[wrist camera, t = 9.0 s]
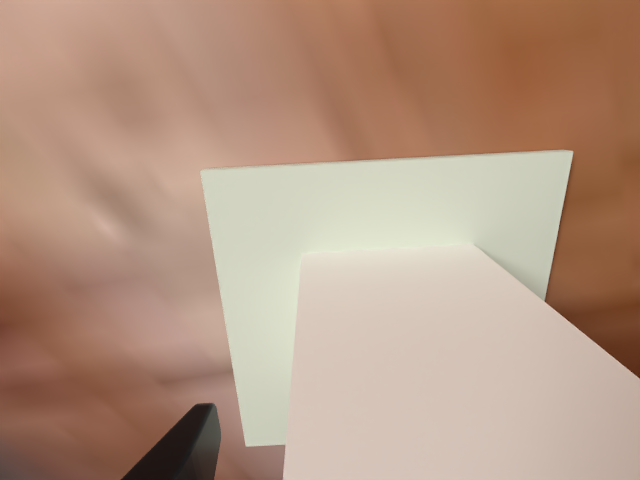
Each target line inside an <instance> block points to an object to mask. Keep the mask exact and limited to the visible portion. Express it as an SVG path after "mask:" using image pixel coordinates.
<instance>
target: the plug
mask: <svg viewBox="0 0 640 480" xmlns="http://www.w3.org/2000/svg"><path fill="white" fill-rule="evenodd" d="M283 480H640V379H639V378H638V377H637V376H636V375H634V374H633V373H632V372H631V371H629V370H628V369H627V368H626V367H625V366H623V365H622V364H621V363H620V362H618V361H617V360H616V359H615V358H613V357H612V356H611V355H610V354H608V353H607V352H606V351H605V350H604V349H602V348H601V347H600V346H599V345H597V344H596V343H595V342H594V341H592V340H591V339H590V338H589V337H587V336H586V335H585V334H584V333H582V332H581V331H580V330H579V329H578V328H576V327H575V326H574V325H573V324H571V323H570V322H569V321H568V320H566V319H565V318H564V317H563V316H561V315H560V314H559V313H558V312H557V311H555V310H554V309H553V308H552V307H550V306H549V305H548V304H547V303H545V302H544V301H543V300H542V299H540V298H539V297H538V296H537V295H535V294H534V293H533V292H532V291H531V290H529V289H528V288H527V287H526V286H524V285H523V284H522V283H521V282H519V281H518V280H517V279H516V278H514V277H513V276H512V275H511V274H509V273H508V272H507V271H506V270H505V269H503V268H502V267H501V266H500V265H498V264H497V263H496V262H495V261H493V260H492V259H491V258H490V257H488V256H487V255H486V254H485V253H484V252H482V251H481V250H480V249H479V248H477V247H476V246H475V245H474V244H458V245H440V246H422V247H405V248H387V249H369V250H351V251H333V252H316V253H302V255H301V268H300V280H299V292H298V304H297V316H296V328H295V340H294V352H293V364H292V376H291V388H290V400H289V412H288V424H287V436H286V448H285V460H284V472H283Z"/></svg>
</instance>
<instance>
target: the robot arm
mask: <svg viewBox="0 0 640 480" xmlns="http://www.w3.org/2000/svg"><path fill="white" fill-rule="evenodd" d="M220 441H221V429H220V424H219V419H218V413H217V408H216V406H215V404H214V403H200V404H196V405H194V406H193V407H192V408H191V409H190V410H189V411H188V412H187V413H186V414H185V415H184V416H183V417H182V418H181V419H180V420H179V421H178V422H177V423H176V424H175V425H174V426H173V427H172V428H171V429H170V430H169V431H168V432H167V433H166V435H165V436H164V437H163V438H162V439H161V440H160V441H159V442H158V443H157V444H156V445H155V446H154V447H153V448H152V449H151V450H150V451H149V452H148V453H147V454H146V455H145V456H144V457H143V458H142V459H141V460H140V461H139V462H138V463H137V464H136V465H135V466H134V467H133V468H132V469H131V470H130V471H129V472H128V473H127V474H126V475H125V476H124V477H123V478H122V479H121V480H214V476H215V470H216V464H217V459H218V453H219V447H220Z"/></svg>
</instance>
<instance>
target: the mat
mask: <svg viewBox="0 0 640 480" xmlns="http://www.w3.org/2000/svg"><path fill="white" fill-rule="evenodd" d="M572 156H573V151H569V150H549V151H530V152H511V153H493V154H474V155H455V156H436V157H417V158H398V159H379V160H360V161H341V162H322V163H304V164H285V165H266V166H247V167H228V168H209V169H203V170H201V171H200V173H201V179H202V185H203V191H204V197H205V203H206V209H207V215H208V221H209V227H210V233H211V239H212V245H213V251H214V257H215V263H216V269H217V275H218V281H219V287H220V293H221V299H222V305H223V311H224V317H225V323H226V329H227V336H228V342H229V348H230V354H231V360H232V366H233V372H234V378H235V384H236V390H237V396H238V402H239V408H240V414H241V420H242V426H243V432H244V438H245V444H246V447H247V446H266V445H284V444H286V436H287V424H288V412H289V400H290V388H291V376H292V364H293V352H294V340H295V328H296V316H297V304H298V292H299V280H300V268H301V255H302V253H316V252H333V251H351V250H369V249H387V248H405V247H422V246H440V245H458V244H474V245H475V246H476V247H477V248H479V249H480V250H481V251H482V252H484V253H485V254H486V255H487V256H488V257H490V258H491V259H492V260H493V261H495V262H496V263H497V264H498V265H500V266H501V267H502V268H503V269H505V270H506V271H507V272H508V273H509V274H511V275H512V276H513V277H514V278H516V279H517V280H518V281H519V282H521V283H522V284H523V285H524V286H526V287H527V288H528V289H529V290H531V291H532V292H533V293H534V294H535V295H537V296H538V297H539V298H540V299H542V300H543V301H545V296H546V291H547V286H548V280H549V275H550V270H551V265H552V260H553V255H554V249H555V244H556V239H557V234H558V229H559V224H560V218H561V213H562V208H563V203H564V198H565V192H566V187H567V182H568V177H569V172H570V167H571V161H572Z"/></svg>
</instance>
